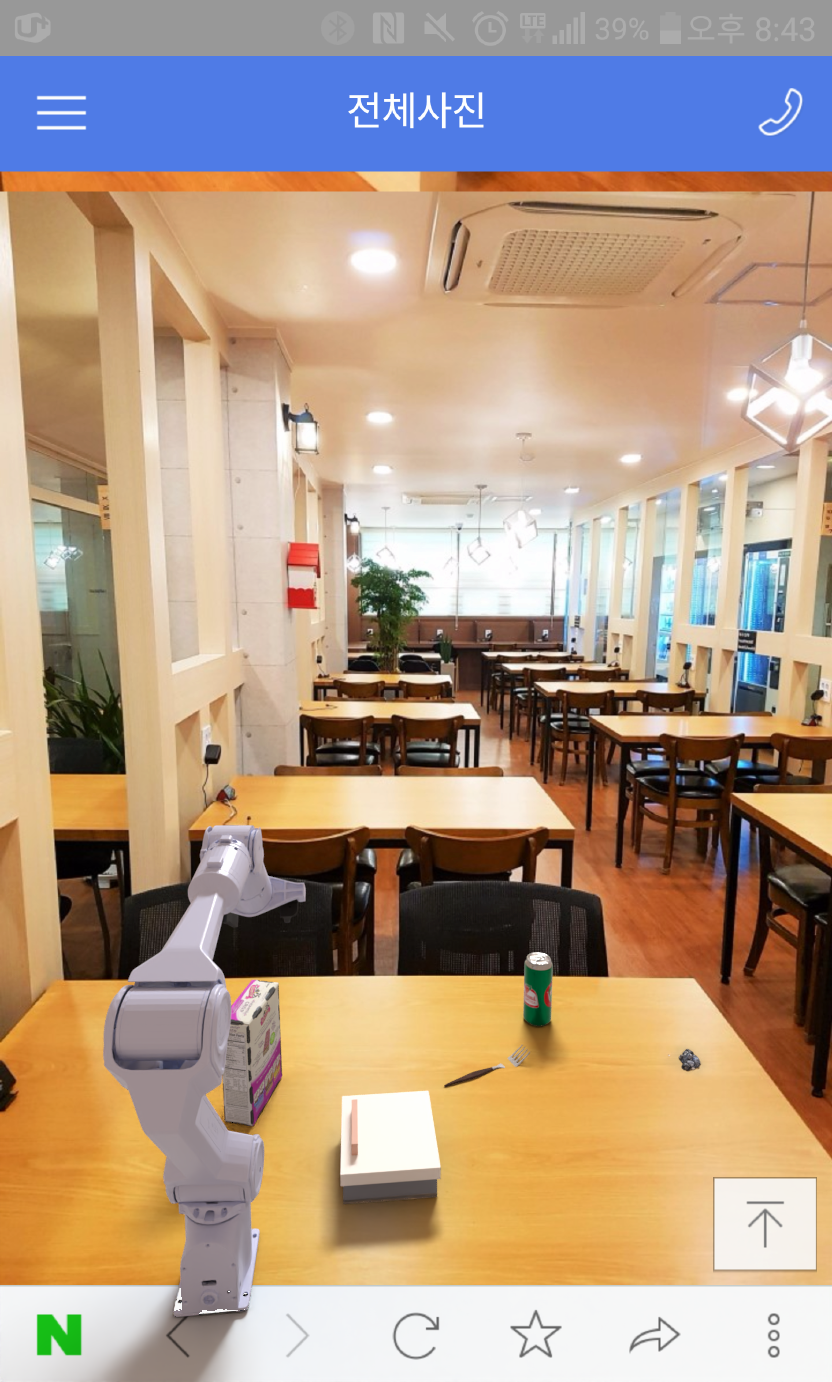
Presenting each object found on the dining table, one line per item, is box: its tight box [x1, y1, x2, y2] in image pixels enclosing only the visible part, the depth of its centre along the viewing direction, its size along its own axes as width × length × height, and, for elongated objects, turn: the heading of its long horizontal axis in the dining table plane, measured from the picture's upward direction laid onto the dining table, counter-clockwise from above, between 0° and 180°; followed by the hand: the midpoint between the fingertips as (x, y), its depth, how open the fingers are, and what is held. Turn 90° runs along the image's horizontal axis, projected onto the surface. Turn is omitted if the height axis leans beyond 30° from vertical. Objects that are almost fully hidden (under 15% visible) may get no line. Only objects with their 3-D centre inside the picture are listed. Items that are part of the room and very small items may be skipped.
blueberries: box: [667, 1048, 702, 1072], centre depth 114 cm, size 7×8×2 cm
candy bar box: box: [222, 979, 283, 1127], centre depth 104 cm, size 11×5×16 cm, turn 168°
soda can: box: [522, 952, 554, 1027], centre depth 125 cm, size 5×5×12 cm
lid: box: [339, 1090, 442, 1187], centre depth 92 cm, size 14×13×3 cm
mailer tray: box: [342, 1179, 438, 1205], centre depth 93 cm, size 12×12×4 cm
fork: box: [443, 1044, 531, 1088], centre depth 111 cm, size 3×16×2 cm, turn 117°
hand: (262, 918), depth 102 cm, fingers open, 7 cm apart
